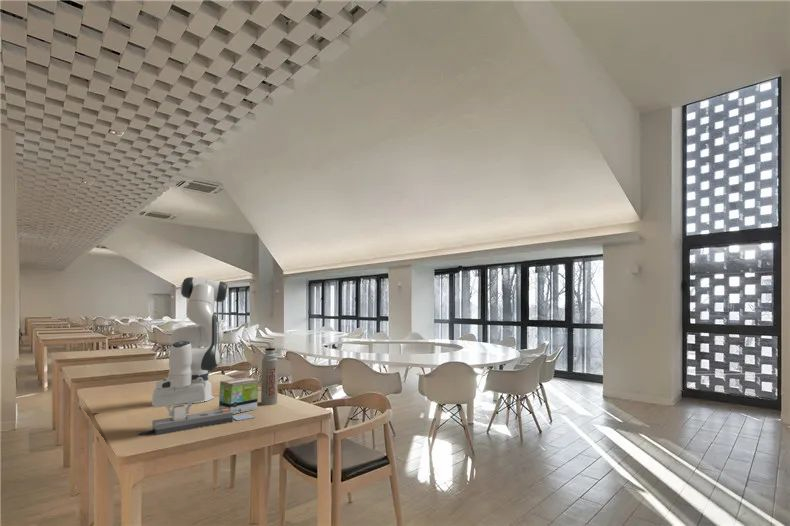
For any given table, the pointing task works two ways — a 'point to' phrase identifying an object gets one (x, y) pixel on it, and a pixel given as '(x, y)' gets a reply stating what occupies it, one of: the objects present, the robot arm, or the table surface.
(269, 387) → the thermos bottle
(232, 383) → the tea box
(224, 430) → the table surface
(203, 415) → the power strip
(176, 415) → the charger
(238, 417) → the felt pad
